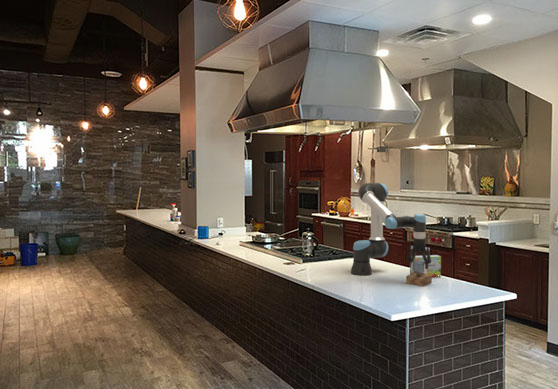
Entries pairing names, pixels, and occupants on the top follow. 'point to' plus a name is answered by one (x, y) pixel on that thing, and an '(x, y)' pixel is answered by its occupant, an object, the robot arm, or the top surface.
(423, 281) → the block
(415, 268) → the cap
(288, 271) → the top surface
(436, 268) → the snack box
